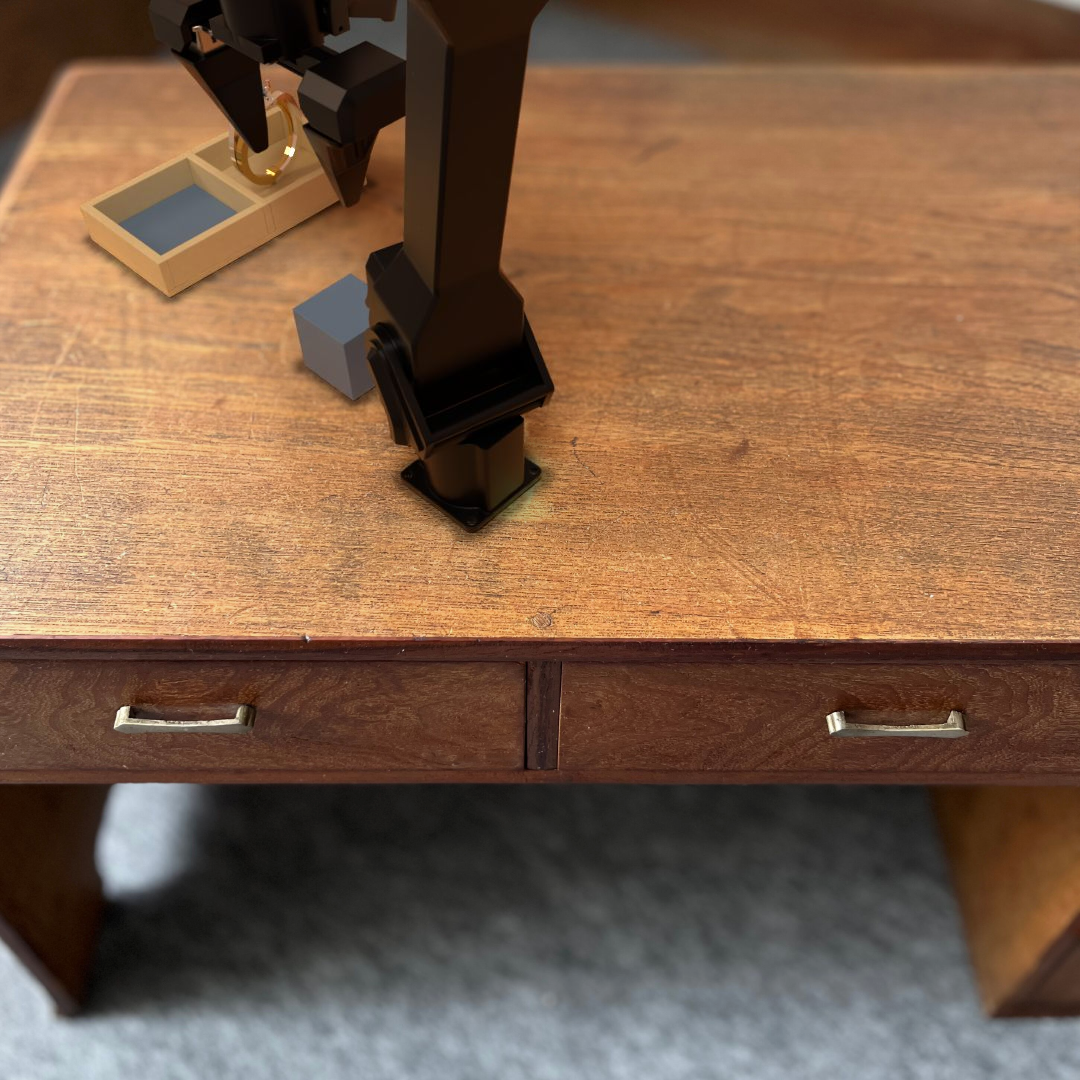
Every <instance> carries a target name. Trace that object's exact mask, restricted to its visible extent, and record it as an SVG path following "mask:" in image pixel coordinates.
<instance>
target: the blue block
mask: <svg viewBox="0 0 1080 1080" xmlns="http://www.w3.org/2000/svg"><path fill="white" fill-rule="evenodd" d="M367 290H368V288H367V282H365V281H364V280H361V279H360V278H359V277H357V276H355V275H354V274H352V273H348V274H346V275H344V276H343V277H341V278H340V279H338V280H337V281H335V282H334V283H332V284H330V285H329V286H327V287H326V288H324V289H322V290H321V291H319V292H318V293H316V294H314V295H313V296H311V297H309V298H308V299H306V300H304V301H303V302H301V303H300V304H298V305H297V306H296V305H295V307H293V308H292V315H293V318H294V323H295V326H296V331H297V336H298V340H299V345H300V349H301V354H302V359H303V363H304V366H305V367H306V368H307V369H308V370H310V371H312V372H313V373H314V374H315V375H317V376H319V378H321V379H322V380H323V381H325V382H327V383H328V384H329V385H331V386H332V387H333V388H335V389H336V390H337V391H339V392H340V393H342V395H345V396H346V397H347V398H349V399H350V400H352V401H356V400H357V399H359V398H361V396H363V395H365V394H366V393H367V392H369V391H371V390H372V389H374V388H376V386H375V384H374V381H373V379H372V376H371V373H370V371H369V368H368V366H367V363H366V357H367V353H366V349H365V346H364V342H366V341H365V330H366V329H367V328H369V308H368V307H367V306H366V304H365V300H366V297H367Z"/></svg>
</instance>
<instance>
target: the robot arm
mask: <svg viewBox="0 0 1080 1080" xmlns="http://www.w3.org/2000/svg"><path fill="white" fill-rule="evenodd" d="M549 1H550V0H406V49H405V51H406V53H405V54H406V55H405V56H406V58H405V59H404V58H402V57H400V56H398V55H396V54H394V53H392V52H390V51H388V50H386V49H384V48H382V47H380V46H378V45H376V44H374V43H372V42H371V41H368V40H364V41H362V42H360V43H358V44H356V45H354V46H352V47H349V48H347V49H345V50H344V51H340V52H339V51H338V50H334V49H333V48H331V47H330V46H329V47H328V46H327V45H325V37H327V36H330V35H331V36H333V37H338V36H340V35H342V34H345V33H346V32H349V31H351V24H350V23H351V22H350V18H352V19H380V20H381V21H382V22H384V23H391V22H394V21H395V20H396V12H397V6H398V0H150V2H149V5H148V7H147V12H148V15H149V19H150V22H151V27H152V29H153V33H154V36H155V39H156V40H158V41H159V42H161V43H162V44H165V45H166V46H168V47H170V53H171V55H172V57H173V59H175V60H177V61H178V62H179V63H180V64H181V65H182V66H183V67H184V69H185V70H186V71H187V72H188V73H189V74H190V76H191V78H193V79H194V81H196V83H197V84H198V85H199V86H200V88H201V89H202V90H203V91H204V92H205V93H206V95H207V96H208V97H209V98H210V99H211V101H212V102H213V103H214V104H215V106H216V107H217V109H219V111H220V112H221V113H222V115H223V116H224V117H225V118H226V119H227V121H228V123H229V122H230V123H231V125H232V126H233V127H234V128H235V130H236V131H237V132H238V133H239V135H240V136H241V137H242V139H243V140H244V141H245V142H246V144H247V145H248V146H249V147H250V149H251V150H252V151H253V152H255V153H256V154H259V153H261V152H263V151H265V150H266V149H268V147H269V140H268V125H267V117H266V111H267V110H266V109H265V102H264V94H263V87H262V86H263V81H262V73H261V64H262V65H264V66H272V65H275V64H276V65H278V66H280V67H282V68H283V69H285V70H287V71H289V72H290V73H293V74H295V75H296V76H298V77H300V78H302V79H301V81H300V83H299V85H298V87H297V89H296V94H297V99H298V104H299V105H298V106H299V110H300V112H301V113H302V114H303V115H304V116H303V117H305V118H306V119H307V120H308V123H306V124H304V125H302V128H303V130H304V132H305V134H306V136H307V138H308V140H309V142H310V144H311V146H312V148H313V150H314V152H315V154H316V156H317V158H318V160H319V162H320V164H321V166H322V168H323V170H324V172H325V174H326V176H327V178H328V180H329V182H330V184H331V186H332V187H333V189H334V191H335V193H336V195H337V196H338V198H339V202H340V203H341V205H342V206H343V207H344V208H346V209H350V208H352V207H354V206H356V205H357V204H358V203H359V202H360V201H361V197H362V193H363V189H364V186H363V185H364V181H365V177H366V178H367V172H368V168H369V164H370V160H371V156H372V152H373V150H374V146H375V144H376V141H377V139H378V135H379V133H380V131H381V130H382V129H384V128H386V127H389V126H390V125H392V124H393V123H396V122H398V121H399V120H401V119H403V118H405V119H404V170H403V171H404V174H403V175H404V177H403V179H404V180H403V182H404V184H403V235H402V236H403V237H402V238H403V239H402V241H399V242H396V243H394V244H390V245H388V246H385V247H382V248H380V249H377V250H375V251H372V252H370V253H369V256H368V258H367V260H366V263H365V267H364V268H365V278H366V284H367V288H368V290H367V297H366V300H365V304H366V306H367V307H368V308H369V328H367V329H366V330H365V341H366V342H364V346H365V349H366V353H367V357H366V363H367V366H368V368H369V371H370V373H371V376H372V379H373V381H374V384H375V389H376V392H377V394H378V397H379V400H380V404H381V405H382V408H383V410H384V413H385V416H386V419H387V423H388V429H389V435H390V436H389V437H390V439H391V440H392V442H393V443H394V445H397V446H403V447H407V448H408V449H410V448H412V449H413V451H414V452H415V455H416V456H417V459H416V460H414V461H413V462H412V463H411V464H409V465H408V466H406V467H405V468H404V469H402V470H401V471H400V480H401V483H403V484H404V485H405V486H407V488H409V489H410V490H412V491H413V492H414V493H416V495H418V496H419V497H421V498H422V499H424V500H425V501H426V502H428V503H429V504H430V505H431V506H433V507H434V508H435V509H436V510H438V511H440V512H441V513H442V514H444V515H445V516H446V517H448V518H449V519H450V520H451V521H453V522H454V523H455V524H457V525H458V526H460V527H461V528H462V529H464V530H465V531H466V532H469V533H474V532H475V533H476V532H477V531H479V529H481V528H482V527H483V526H484V525H486V524H487V523H488V522H490V521H491V520H492V519H493V518H494V517H496V516H497V515H498V514H500V512H502V511H503V510H504V509H505V508H507V507H508V506H509V505H510V504H511V503H512V502H514V501H515V500H516V499H518V498H519V497H520V496H521V495H522V494H523V493H525V492H526V491H527V490H528V489H529V488H530V487H532V486H533V485H534V484H536V483H537V482H538V481H539V480H540V479H541V478H542V475H543V474H542V471H543V470H542V468H541V467H540V466H539V465H537V464H536V463H535V462H533V461H532V460H530V459H529V458H528V457H526V456H525V418H524V417H523V416H522V415H525V414H527V413H530V412H531V411H534V410H536V409H538V408H540V409H542V408H544V407H547V406H549V405H550V403H551V400H552V398H553V396H554V394H555V390H556V389H555V384H554V383H553V380H552V377H551V375H550V371H549V369H548V367H547V364H546V362H545V359H544V358H543V354H542V352H541V350H540V347H539V344H538V342H537V339H536V337H535V334H534V332H533V329H532V327H531V324H530V322H529V319H528V316H527V314H526V312H525V299H524V297H523V296H522V294H521V293H520V292H519V290H518V289H517V288H516V286H515V285H514V283H513V282H512V280H511V279H510V277H509V276H508V275H507V273H506V272H505V271H504V269H503V268H502V266H501V261H502V252H503V244H504V237H505V230H506V222H507V215H508V206H509V201H510V194H511V193H510V192H511V185H512V177H513V170H514V162H515V156H516V147H517V140H518V132H519V125H520V119H521V118H520V117H521V112H522V111H521V110H522V103H523V97H524V88H525V81H526V73H527V66H528V57H529V51H530V50H529V49H530V43H531V35H532V29H533V25H534V21H535V20H536V19H537V17H538V16H539V14H540V13H541V12H542V10H543V9H544V8H545V6H546V5H547V4H548V2H549ZM470 523H473V524H470Z"/></svg>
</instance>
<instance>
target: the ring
mask: <svg viewBox="0 0 1080 1080" xmlns="http://www.w3.org/2000/svg"><path fill="white" fill-rule="evenodd" d="M271 86H272V85H271V80H270V79H265V85H264V86H263V85H262V87H263V94H264V102H265V109H266V111H268V110H270V109H271V107H272V108H273V106H275V105H276V106H279V107H280V109H281V110H282V112H283V113H284V115H285V118H286V120H287V124H288V144H287V148H286V151H285V153H284V155H283V157H282V159H281V160H280V162H279V163H278V164H277V165H276V166H275V167H274V166H270V167H269V168H268V169H267V172H266V173H264V174H254V173H253V172H252V171H251V169H250V167H249V164H248V148H249V146H248V145H247V144H246V142H245V141H244V140H243V139H242V137H241V136H240V135H239V133H238V132H237V131H236V130H235V128H234V127H233V126H232V125H231V123H230V122H229V121H228V123H229V124H228V131H229V150H230V156H231V159H232V162H233V164H234V166H235V168H236V170H237V171H238V172H239V173H240V174H241V175H242V176H243V177H244V178H246V179H247V180H249V181H250V182H252V183H254V184H257V185H269V184H272V183H274V182H275V183H280V182H281V181H282V180H283V176H285V175H286V174H287V172H288V171H289V170H290V169H291V167H292V166H293V164H294V162H295V161H296V158H297V156H298V154H299V151H300V147H301V143H302V136H303V128H302V125H303V122H302V116H303V115H302V112H301V109H300V106H299V105H298V103H297V101H296V100H295V98H294V96H293V95H292V94H291V93H289V92H286V91H284V90H280V89H279V90H274V89H273V90H272V87H271ZM301 115H302V116H301Z"/></svg>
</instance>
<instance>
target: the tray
mask: <svg viewBox="0 0 1080 1080" xmlns="http://www.w3.org/2000/svg"><path fill="white" fill-rule="evenodd" d="M301 116H302V122H303V125H304V124H306V123H308V120H307V119H306V117H305V116H303V115H302V114H301ZM266 117H267V125H268V140H269V147H268V149H266V150H265V151H263V152H261V153H259V154H256V153H255V152H253V151H252V150H251V149H250V147H249V148H248V164H249V167H250V169H251V171H252V172H253V173H254V174H264V173H266V172H267V169H268V168H269V167H270V166H274V167H275V166H276V165H277V164H278V163H279V162H280V160H281V159H282V157H283V155H284V153H285V151H286V148H287V144H288V124H287V120H286V118H285V115H284V113H283V112H282V110H281V109H280V107H279V106H278V105H276V106H274V107H272V108H269V109H267V110H266ZM367 180H368V179H367V176H366V177H365V181H364V185H363V187H365V186H366V185H368V181H367ZM338 201H339V202H340V200H339V198H338V196H337V195H336V193H335V191H334V189H333V187H332V186H331V184H330V182H329V180H328V178H327V176H326V174H325V172H324V170H323V168H322V166H321V164H320V162H319V160H318V158H317V156H316V154H315V152H314V150H313V148H312V146H311V144H310V142H309V140H308V138H307V136H306V134H305V132H304V130H303V136H302V143H301V147H300V151H299V154H298V156H297V158H296V161H295V162H294V164H293V166H292V167H291V169H290V170H289V171H288V172H287V174H286V175H285V176H283V180H282V181H281V182H280V183H275V182H274V183H272V184H269V185H257V184H254V183H252V182H250V181H249V180H247V179H246V178H244V177H243V176H242V175H241V174H240V173H239V172H238V171H237V170H236V168H235V166H234V164H233V162H232V159H231V156H230V150H229V130H227V131H225V132H222V133H221V134H219V135H217V136H215V137H213V138H211V139H209V140H207V141H205V142H203V143H201V144H199V145H197V146H195V147H193V148H191V149H189V150H188V151H185V152H184V153H182V154H179V155H177V156H175V157H174V158H172V159H169V160H167V161H165V162H163V163H161V164H160V165H157V166H156V167H155V166H154V168H151V169H150V170H147V171H145V172H143V173H141V174H139V175H137V176H136V177H134V178H132V179H130V180H128V181H126V182H124V183H122V184H120V185H118V186H115V187H114V188H112V189H110V190H108V191H106V192H104V193H102V194H100V195H97V196H95V197H94V198H92V199H90V200H88V201H86V202H84V203H82V204H80V205H79V206H78V207H79V210H80V213H81V216H82V219H83V220H84V223H85V225H86V229H87V231H88V233H89V236H90V239H91V240H92V241H93V242H95V243H96V244H97V245H99V246H100V247H101V248H102V249H104V250H105V251H106V252H108V253H109V254H111V255H112V256H113V257H115V258H116V259H117V260H119V261H120V262H121V263H122V264H123V265H125V266H127V267H128V268H130V270H132V271H133V272H135V273H136V274H137V275H138V276H140V277H142V278H143V279H144V280H145V281H146V282H148V283H149V284H150V285H152V286H153V287H154V288H156V289H158V290H159V291H160V292H161V293H162V294H164V295H165V296H166V297H168V298H172V297H173V296H175V295H177V294H178V293H180V292H182V291H185V290H186V289H187V288H190V286H193V285H195V284H196V283H198V282H199V281H201V280H203V279H205V278H206V277H208V276H210V275H212V274H214V273H216V272H218V271H219V270H220V269H222V268H224V267H225V266H227V265H230V264H231V263H232V262H234V261H236V260H237V259H239V258H241V257H243V256H245V255H247V254H248V253H250V252H252V251H253V250H256V249H257V248H259V247H261V246H262V245H264V244H266V243H267V242H269V241H271V240H272V239H274V238H276V237H277V236H279V235H282V234H283V233H285V232H286V231H289V230H290V229H291V228H294V227H296V226H297V225H299V224H301V223H302V222H305V220H308V219H309V218H311V217H312V216H314V215H316V214H318V213H320V212H321V211H323V210H325V209H326V208H329V207H330V206H332V205H334V204H335V203H336V202H338Z"/></svg>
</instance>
